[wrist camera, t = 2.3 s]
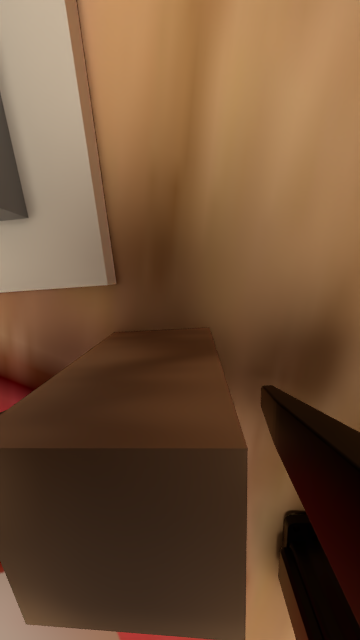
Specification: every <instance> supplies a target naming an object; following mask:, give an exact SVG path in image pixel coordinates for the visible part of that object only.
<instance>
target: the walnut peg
mask: <svg viewBox="0 0 360 640" xmlns="http://www.w3.org/2000/svg"><path fill="white" fill-rule="evenodd" d="M247 451H248V448H247V445H246V442H245V439H244V436H243V433H242V429H241V426H240V423H239V420H238V417H237V414H236V410H235V407H234V404H233V401H232V398H231V395H230V391H229V388H228V385H227V382H226V379H225V376H224V373H223V369H222V366H221V363H220V360H219V357H218V354H217V350H216V347H215V344H214V341H213V338H212V335H211V332H210V328H192V329H172V330H152V331H132V332H114V333H113V334H112V335H110V336H109V337H107V338H106V339H105V340H103V341H102V342H101V343H99V344H98V345H96V346H95V347H94V348H92V349H91V350H90V351H88V352H87V353H85V354H84V355H83V356H81V357H80V358H78V359H77V360H76V361H74V362H73V363H72V364H70V365H69V366H67V367H66V368H65V369H63V370H62V371H61V372H59V373H58V374H56V375H55V376H54V377H52V378H51V379H49V380H48V381H47V382H45V383H44V384H43V385H41V386H40V387H38V388H37V389H36V390H34V391H33V392H31V393H30V394H29V395H27V396H26V397H25V398H23V399H22V400H20V401H19V402H18V403H16V404H15V405H14V406H12V407H11V408H9V409H8V410H7V411H5V412H4V413H2V414H1V415H0V561H1V564H2V566H3V568H4V571H5V573H6V576H7V578H8V581H9V583H10V586H11V588H12V590H13V593H14V595H15V598H16V600H17V603H18V605H19V608H20V610H21V613H22V615H23V618H24V620H25V623H26V624H30V625H42V626H54V627H66V628H79V629H91V630H104V631H116V632H128V633H141V634H153V635H166V636H178V637H190V638H203V639H215V640H245V620H246V535H247Z"/></svg>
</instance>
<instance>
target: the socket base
mask: <svg viewBox="0 0 360 640" xmlns="http://www.w3.org/2000/svg"><path fill="white" fill-rule="evenodd" d="M113 284H116V276H115V269H114V262H113V255H112V248H111V241H110V234H109V227H108V220H107V213H106V206H105V199H104V192H103V185H102V178H101V171H100V164H99V156H98V149H97V142H96V135H95V128H94V121H93V114H92V107H91V100H90V93H89V86H88V79H87V72H86V65H85V58H84V51H83V44H82V36H81V29H80V22H79V15H78V8H77V1H76V0H0V293H2V292H16V291H30V290H44V289H59V288H73V287H87V286H101V285H113Z"/></svg>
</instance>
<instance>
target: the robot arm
mask: <svg viewBox="0 0 360 640" xmlns="http://www.w3.org/2000/svg"><path fill="white" fill-rule="evenodd" d="M261 407H262V411H263V414H264V416H265V419H266V422H267V425H268V428H269V431H270V434H271V437H272V439H273V442H274V445H275V447H276V449H277V452H278V454H279V456H280V458H281V460H282V462H283V464H284V466H285V469H286V471H287V473H288V475H289V477H290V479H291V481H292V483H293V486H294V488H295V490H296V492H297V494H298V496H299V498H300V501H301V503H302V505H303V507H304V509H305V511H306V513H307V515H289V516H287V517H286V518H285V523H284V537H283V547H282V548H281V550H280V558H279V573H278V577H279V581H280V584H281V588H282V592H283V595H284V599H285V602H286V606H287V609H288V613H289V616H290V620H291V623H292V627H293V630H294V634H295V637H296V640H360V432H358V431H356V430H354V429H352V428H350V427H348V426H347V425H345V424H343V423H341V422H339V421H337V420H335V419H334V418H332V417H330V416H328V415H326V414H324V413H322V412H321V411H319V410H317V409H315V408H313V407H311V406H309V405H308V404H306V403H304V402H302V401H300V400H298V399H296V398H294V397H293V396H291V395H289V394H287V393H285V392H283V391H281V390H280V389H278V388H276V387H274V386H271V385H267V386H262V388H261ZM6 411H7V410H6ZM4 412H5V411H3V412H1V413H0V415H1V414H2V413H4Z"/></svg>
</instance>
